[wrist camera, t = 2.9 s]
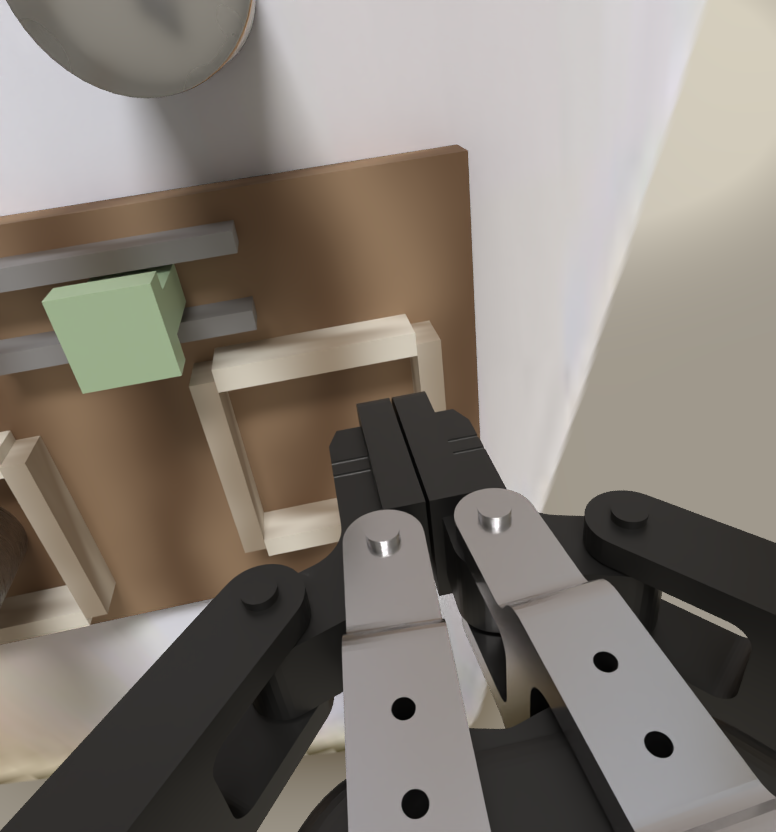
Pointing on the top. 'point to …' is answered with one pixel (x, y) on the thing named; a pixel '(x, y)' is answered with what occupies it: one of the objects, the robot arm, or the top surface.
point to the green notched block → (120, 327)
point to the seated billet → (10, 550)
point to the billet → (139, 40)
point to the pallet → (223, 376)
